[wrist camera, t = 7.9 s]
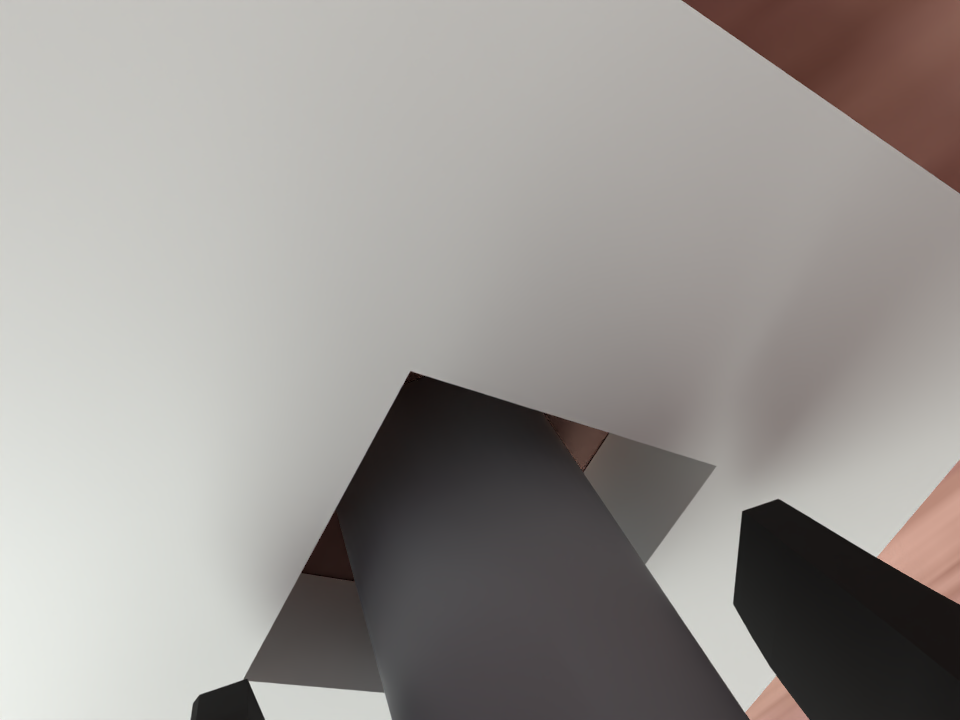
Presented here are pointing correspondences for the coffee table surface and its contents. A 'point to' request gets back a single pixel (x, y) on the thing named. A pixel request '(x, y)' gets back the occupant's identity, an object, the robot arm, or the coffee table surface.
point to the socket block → (425, 314)
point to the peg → (508, 576)
